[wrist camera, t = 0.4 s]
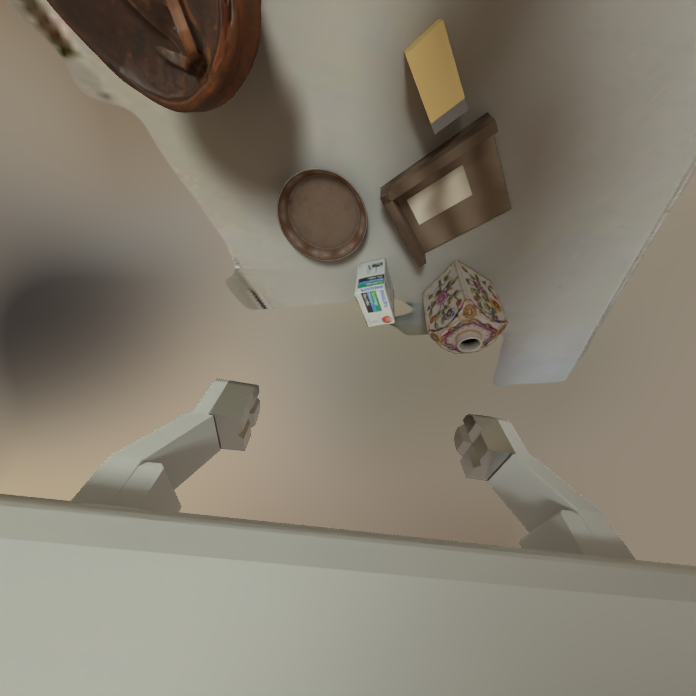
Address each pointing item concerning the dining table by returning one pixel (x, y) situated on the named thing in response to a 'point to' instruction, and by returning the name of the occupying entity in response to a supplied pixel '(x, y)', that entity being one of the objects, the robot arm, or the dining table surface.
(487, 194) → the corner arena
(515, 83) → the dining table surface
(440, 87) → the ochre block
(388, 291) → the light bulb box
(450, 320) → the decorative jar
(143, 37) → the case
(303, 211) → the plant saucer
